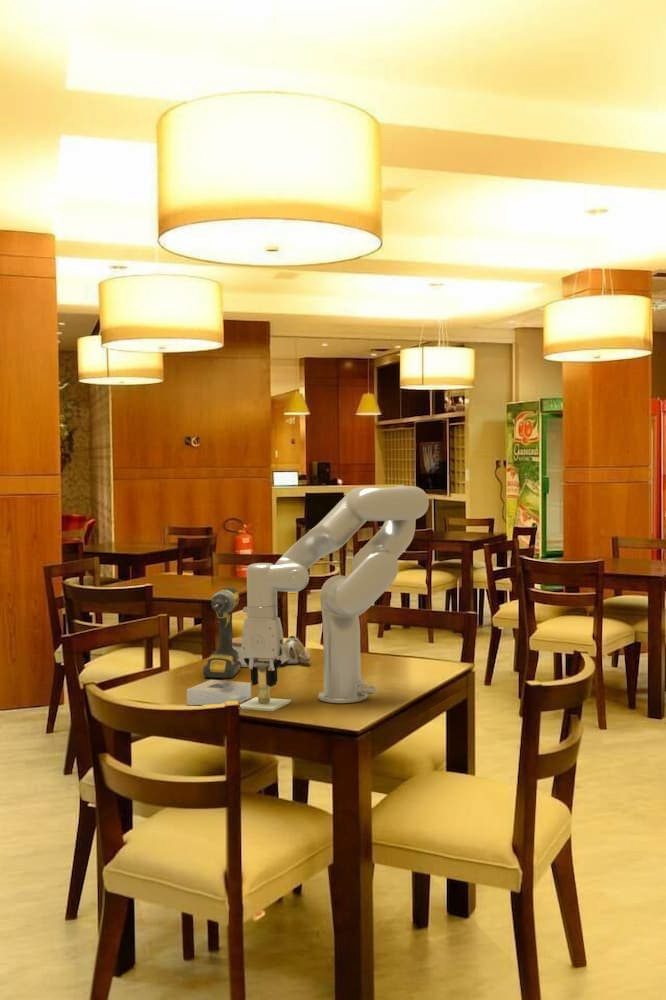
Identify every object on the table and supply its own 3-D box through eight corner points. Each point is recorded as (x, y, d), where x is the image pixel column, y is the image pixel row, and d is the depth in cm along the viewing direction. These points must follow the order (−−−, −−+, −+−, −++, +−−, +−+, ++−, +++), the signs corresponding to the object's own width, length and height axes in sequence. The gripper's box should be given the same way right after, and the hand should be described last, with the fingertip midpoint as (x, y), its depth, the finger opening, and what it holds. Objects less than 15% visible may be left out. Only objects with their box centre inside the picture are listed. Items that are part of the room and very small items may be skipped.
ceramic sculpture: (308, 630, 307) (310, 641, 292) (309, 657, 308) (311, 669, 293) (274, 631, 306) (274, 642, 292) (275, 658, 307) (275, 671, 292)
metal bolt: (268, 704, 243) (267, 663, 242) (250, 702, 245) (249, 662, 244) (277, 699, 247) (276, 659, 247) (259, 698, 249) (258, 658, 249)
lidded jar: (265, 661, 303) (264, 631, 303) (260, 668, 292) (259, 637, 292) (231, 661, 304) (230, 631, 304) (224, 668, 293) (224, 637, 293)
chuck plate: (251, 697, 255) (250, 682, 255) (228, 708, 244) (228, 692, 243) (210, 694, 259) (210, 679, 259) (187, 705, 248) (186, 689, 248)
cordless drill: (195, 684, 273) (193, 594, 272) (214, 669, 293) (212, 586, 292) (227, 684, 272) (225, 594, 271) (243, 669, 291) (241, 586, 291)
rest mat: (291, 702, 249) (290, 699, 249) (273, 711, 240) (273, 708, 240) (256, 699, 253) (256, 697, 253) (237, 708, 244) (237, 705, 244)
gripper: (226, 613, 245) (227, 685, 246) (286, 615, 239) (287, 690, 240) (240, 609, 252) (242, 679, 253) (298, 611, 246) (300, 683, 246)
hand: (264, 684), depth 246 cm, fingers open, 4 cm apart
